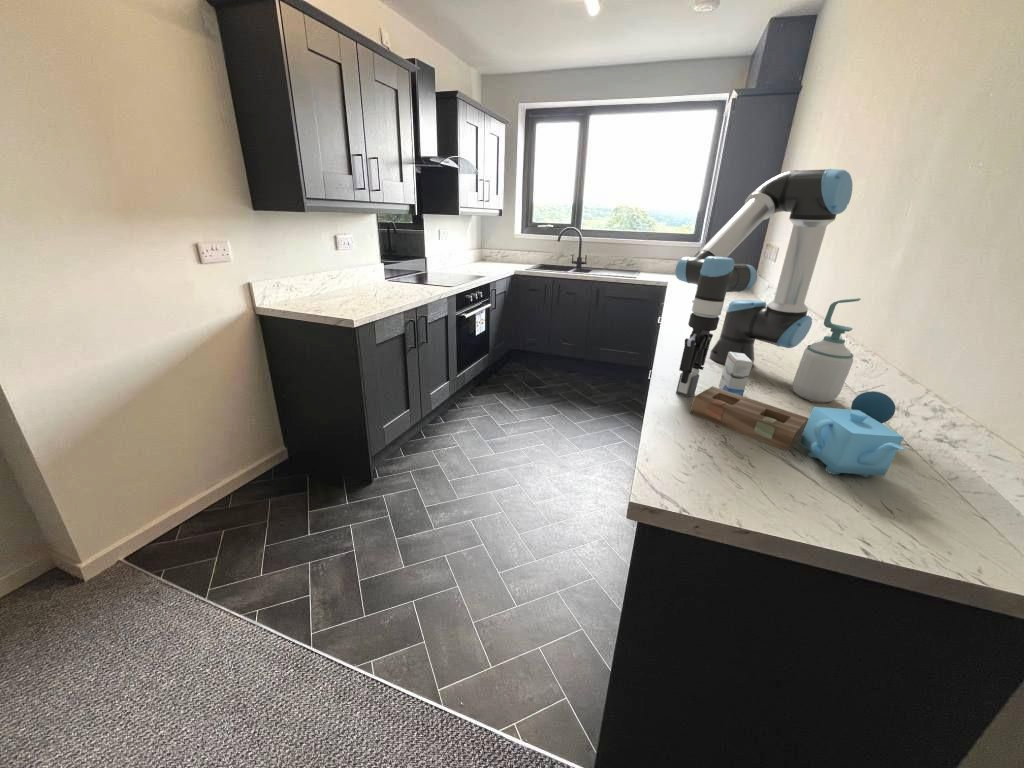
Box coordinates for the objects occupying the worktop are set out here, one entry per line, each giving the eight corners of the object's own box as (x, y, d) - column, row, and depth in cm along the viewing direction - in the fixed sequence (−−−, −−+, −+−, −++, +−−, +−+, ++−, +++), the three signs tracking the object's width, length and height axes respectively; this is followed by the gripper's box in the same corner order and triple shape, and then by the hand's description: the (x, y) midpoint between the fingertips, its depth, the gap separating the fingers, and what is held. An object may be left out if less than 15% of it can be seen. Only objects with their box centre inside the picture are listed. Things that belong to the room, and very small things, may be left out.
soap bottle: (830, 409, 121) (873, 304, 109) (783, 394, 129) (819, 295, 117) (840, 399, 129) (882, 299, 117) (796, 385, 137) (830, 291, 125)
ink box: (742, 398, 124) (754, 361, 120) (725, 396, 125) (736, 359, 120) (734, 387, 132) (744, 353, 127) (718, 385, 133) (728, 351, 128)
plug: (681, 390, 127) (687, 365, 124) (694, 394, 125) (700, 369, 122) (675, 393, 125) (681, 368, 122) (688, 397, 122) (695, 372, 119)
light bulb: (843, 423, 112) (861, 383, 108) (882, 436, 107) (902, 394, 102) (838, 433, 107) (856, 391, 102) (878, 446, 102) (900, 403, 97)
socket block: (708, 401, 120) (712, 385, 118) (802, 435, 104) (809, 417, 102) (689, 413, 112) (693, 395, 110) (787, 451, 96) (795, 432, 94)
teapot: (786, 447, 98) (804, 398, 93) (851, 451, 98) (873, 403, 93) (839, 495, 82) (865, 439, 77) (917, 500, 82) (948, 445, 77)
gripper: (704, 308, 123) (686, 380, 132) (678, 314, 112) (660, 392, 121) (730, 313, 118) (710, 387, 127) (705, 321, 107) (685, 401, 116)
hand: (686, 390), depth 124 cm, fingers closed on plug, 4 cm apart
